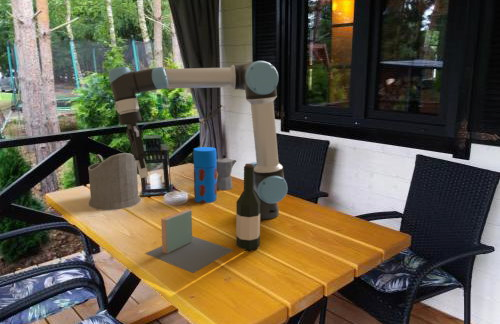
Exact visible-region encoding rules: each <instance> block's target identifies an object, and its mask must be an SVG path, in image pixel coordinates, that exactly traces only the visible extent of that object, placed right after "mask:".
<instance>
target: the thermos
mask: <svg viewBox="0 0 500 324" xmlns="http://www.w3.org/2000/svg"><path fill="white" fill-rule="evenodd" d="M217 159H218V158H217V148H215V147H212V146H211V147H210V146H201V147H200V146H199V147H195V148H193V188H194V189H193V190H194V191H193V194H194V202H196V203H199V204H211V203H215V202H216V201H217V196H218V195H217V193H218V191H217V190H218V189H217V177H218V173H217V166H216V165H217Z"/></svg>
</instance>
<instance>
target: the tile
mask: <svg viewBox="0 0 500 324" xmlns="http://www.w3.org/2000/svg"><path fill="white" fill-rule="evenodd" d="M192 213H193V211H192V210H191V209H188V208H186V209H183V210H181V211H177V212H176V213H172V214H171V215H167V216H165V217H162V218H161V219H160V221H161V222H160V223H161V224H160V225H161V246H162V251H163V253H166V254H168V253H170V252H172V251H174V250H176V249H178V248H180V247H182V246H184V245H186V244H189V243H191V242H192V236H193V220H192V219H193V217H192V216H193V214H192Z"/></svg>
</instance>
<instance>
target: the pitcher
mask: <svg viewBox="0 0 500 324" xmlns="http://www.w3.org/2000/svg"><path fill="white" fill-rule="evenodd" d="M98 157H99V159H100V160H101V162H98ZM94 161H95V163H94V164H91V165H89V166H88V177H89V191H90V193H89V194H90V198H89V201H88V207H90V208H92V209H93V210H100V211H116V210H118V211H119V210H124V209H129V208H132V207H134V206H137V205H138V204H139V203H141V201H142V199H141V197H140V195H139V184H138V183H139V181H138V166H137V162H136V161H135V158H134V155H133V153H127V152H123V153H117V154H113V155H111V156H108V157H107V158H106V159H105V160H104V159H103V156H102V155H100V154H99V153H98V154H96V155H95V159H94Z"/></svg>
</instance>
